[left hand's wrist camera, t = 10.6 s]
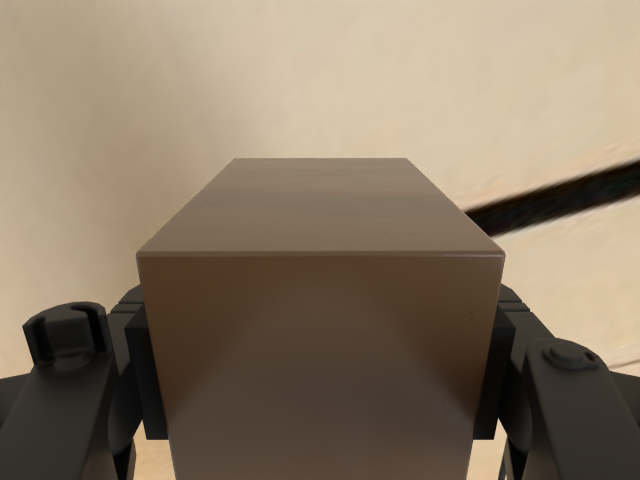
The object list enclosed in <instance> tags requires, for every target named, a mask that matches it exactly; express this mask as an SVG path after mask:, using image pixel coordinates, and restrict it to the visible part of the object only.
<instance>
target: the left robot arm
mask: <svg viewBox="0 0 640 480" xmlns="http://www.w3.org/2000/svg"><path fill="white" fill-rule="evenodd" d="M22 327H23V330H24V334H25V337H26V340H27V343H28V347H29V350H30V353H31V356H32V360H33V363H34V366H33V368H32V370H31V372H30V373H28V374H23V375H18V376H13V377H8V378H3V379H0V480H133V477H134V469H135V462H136V449H135V444H134V439H133V436H134V434H135V432H136V430H137V429H138V427H139V425H140V423H141V421H142V419H143V424H144V429H145V434H146V439H147V440H169V439H168V433H167V427H166V422H165V416H164V411H163V405H162V400H161V394H160V388H159V383H158V377H157V372H156V366H155V361H154V355H153V350H152V344H151V338H150V333H149V327H148V322H147V316H146V311H145V305H144V300H143V294H142V288H141V284H140V285H138V286H136V287H135V288H133V289H131V290H129V291H128V292H127V293H126V294H125V296H124V297H123V298H122V299H121V300H120V301H119V304H116V306H115V307H114V308H113V309H112V310H111V313H108V315H106V311H105V308H104V307H103V306H101V305H100V304H98V303H93V302H72V303H67V304H63V305H58V306H55V307H52V308H50V309H47V310H44V311H42V312H40V313H39V314H37V315H35V316H33V317H31V318H30V319H29V320H28V321H27V322H26V323H25V324H24V325H23V326H22ZM498 418H499V420H500V422H501V424H502V426H503V428H504V430H505V431H506V433H507V439H506V444H505V448H504V453H503V457H502V462H501V466H500V471H499V477H498V480H505V476H507V480H640V377H637V376H632V375H627V374H622V373H617V372H612V371H609V369H608V367H607V366H606V364H605V363H604V362H603V360H602V359H601V358H600V357H599V356H598V355H597V354H595V353H594V352H592V351H591V350H589V349H588V348H586V347H584V346H582V345H579V344H577V343H574V342H572V341H568V340H564V339H560V338H555V337H554V336H553V335H552V333H551V332H550V331H549V330H548V329H547V328H546V327H545V326H544V325H543V323H542V322H541V321H540V320H539V319H538V318H537V317H536V316H535V315H534V313H533V312H530V309H529V308H528V307H527V306H526V304H525V303H522V300H521V299H520V298H519V297H518V296H517V294H516V293H515V292H514V291H513V290H512V289H510V288H508V287H507V286H505V285H503V284H502V283H501V284H500V290H499V296H498V301H497V307H496V313H495V318H494V324H493V330H492V335H491V341H490V347H489V352H488V358H487V364H486V369H485V375H484V381H483V387H482V392H481V398H480V404H479V409H478V415H477V421H476V426H475V432H474V438H473V440H494V436H495V431H496V426H497V421H498Z"/></svg>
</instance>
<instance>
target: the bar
mask: <svg viewBox="0 0 640 480" xmlns="http://www.w3.org/2000/svg"><path fill="white" fill-rule="evenodd" d="M136 261H137V266H138V272H139V277H140V283H141V288H142V294H143V300H144V305H145V311H146V316H147V322H148V327H149V333H150V338H151V344H152V350H153V355H154V361H155V366H156V372H157V377H158V383H159V388H160V394H161V400H162V405H163V411H164V416H165V422H166V427H167V433H168V439H169V444H170V450H171V455H172V461H173V466H174V472H175V477H176V480H466V477H467V472H468V466H469V460H470V455H471V449H472V443H473V438H474V432H475V426H476V421H477V415H478V409H479V404H480V398H481V392H482V387H483V381H484V375H485V369H486V364H487V358H488V352H489V347H490V341H491V335H492V330H493V324H494V318H495V313H496V307H497V301H498V296H499V290H500V284H501V279H502V273H503V267H504V262H505V252H504V251H503V250H502V249H501V248H500V247H499V246H498V245H497V244H496V243H495V242H494V241H493V240H492V239H491V238H490V237H489V236H488V235H487V234H486V233H485V232H483V231H482V230H481V229H480V228H479V227H478V226H477V225H476V224H475V223H474V222H473V221H472V220H471V219H470V218H469V217H468V216H467V215H466V214H465V213H464V212H462V211H461V210H460V209H459V208H458V207H457V206H456V205H455V204H454V203H453V202H452V201H451V200H450V199H449V198H448V197H447V196H446V195H445V194H444V193H443V192H442V191H440V190H439V189H438V188H437V187H436V186H435V185H434V184H433V183H432V182H431V181H430V180H429V179H428V178H427V177H426V176H425V175H424V174H423V173H422V172H421V171H420V170H418V169H417V168H416V167H415V166H414V165H413V164H412V163H411V162H410V161H409V160H408V159H406V158H250V159H234V160H233V161H232V162H230V163H229V164H228V165H227V166H226V167H225V168H224V169H223V170H222V171H221V172H220V173H219V174H218V175H217V176H216V177H215V178H214V179H213V180H212V181H211V182H210V183H209V184H207V185H206V186H205V187H204V188H203V189H202V190H201V191H200V192H199V193H198V194H197V195H196V196H195V197H194V198H193V199H192V200H191V201H190V202H189V203H188V204H187V205H185V206H184V207H183V208H182V209H181V210H180V211H179V212H178V213H177V214H176V215H175V216H174V217H173V218H172V219H171V220H170V221H169V222H168V223H167V224H166V225H165V226H164V227H162V228H161V229H160V230H159V231H158V232H157V233H156V234H155V235H154V236H153V237H152V238H151V239H150V240H149V241H148V242H147V243H146V244H145V245H144V246H143V247H142V248H140V249H139V250H138V251H137V253H136Z"/></svg>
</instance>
